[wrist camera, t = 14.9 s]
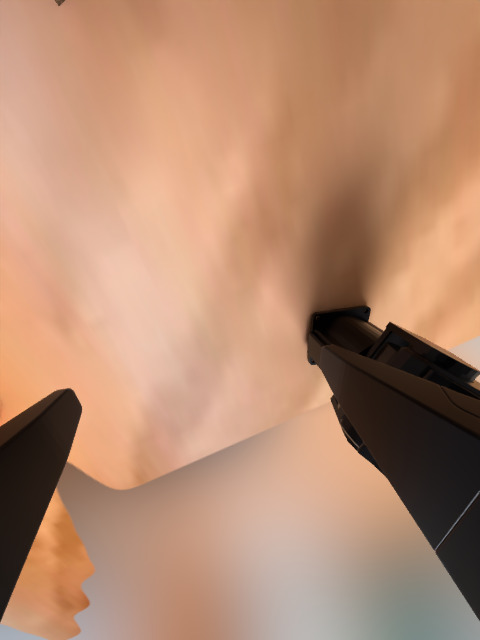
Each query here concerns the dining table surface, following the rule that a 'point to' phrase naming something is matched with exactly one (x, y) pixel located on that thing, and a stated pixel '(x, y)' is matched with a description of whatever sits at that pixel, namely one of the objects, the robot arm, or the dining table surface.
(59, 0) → the u rest
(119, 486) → the dining table surface
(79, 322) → the dining table surface
